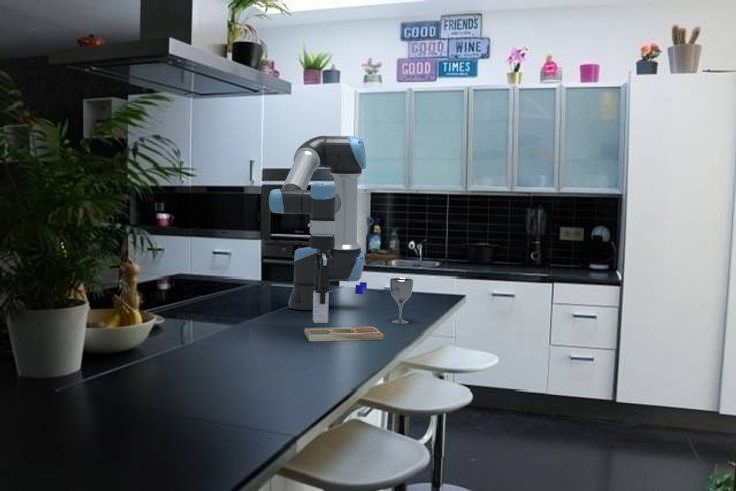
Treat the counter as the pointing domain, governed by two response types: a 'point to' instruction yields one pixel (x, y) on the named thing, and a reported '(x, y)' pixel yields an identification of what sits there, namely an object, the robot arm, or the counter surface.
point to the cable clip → (361, 288)
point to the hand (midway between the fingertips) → (320, 313)
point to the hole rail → (343, 334)
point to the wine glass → (401, 294)
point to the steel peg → (316, 317)
